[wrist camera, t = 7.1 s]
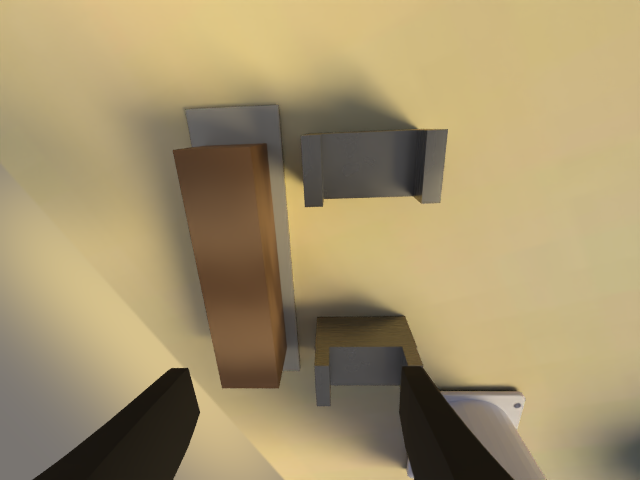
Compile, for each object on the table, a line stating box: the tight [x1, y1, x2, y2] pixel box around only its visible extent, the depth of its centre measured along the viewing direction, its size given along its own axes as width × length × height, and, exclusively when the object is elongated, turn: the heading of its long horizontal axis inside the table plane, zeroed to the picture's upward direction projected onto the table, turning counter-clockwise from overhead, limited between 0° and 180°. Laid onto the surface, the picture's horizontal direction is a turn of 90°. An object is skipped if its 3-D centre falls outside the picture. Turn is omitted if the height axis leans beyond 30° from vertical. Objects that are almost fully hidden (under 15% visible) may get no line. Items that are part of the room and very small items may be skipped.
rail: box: [173, 143, 287, 388], centre depth 17 cm, size 14×4×4 cm, turn 2°
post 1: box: [301, 129, 448, 207], centre depth 15 cm, size 3×6×4 cm, turn 92°
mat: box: [185, 105, 300, 371], centre depth 19 cm, size 18×5×1 cm, turn 2°
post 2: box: [315, 316, 423, 406], centre depth 19 cm, size 3×6×4 cm, turn 92°
